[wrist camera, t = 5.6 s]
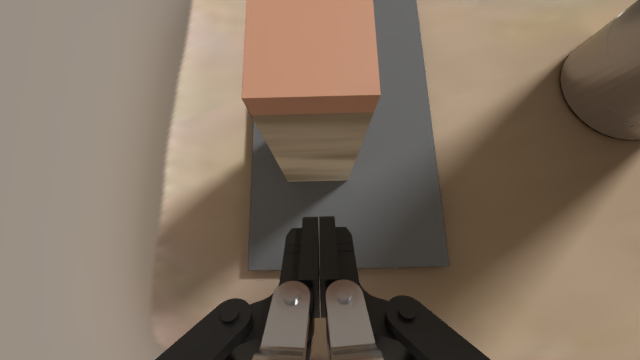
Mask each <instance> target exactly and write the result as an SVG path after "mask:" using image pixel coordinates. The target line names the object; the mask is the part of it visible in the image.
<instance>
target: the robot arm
mask: <svg viewBox="0 0 640 360" xmlns="http://www.w3.org/2000/svg"><path fill="white" fill-rule="evenodd" d="M561 87H562V91H563V94H564V96H565V99H566V101H567V103H568V104H569V106H570V107H571V109H572V110H573V111H574V113H575V114H576V115H577V116H578V117H579V118H580V119H581V120H582V121H583V122H585V123H586V124H587V125H589V126H590V127H591V128H593V129H595V130H597V131H599V132H600V133H602V134H605V135H608V136H611V137H614V138H619V139H625V140H640V0H638V1H636V2H635V3H634V4H632V5H631V6H630V7H629V8H627V9H626V10H625V11H623V12H622V13H621V14H620V15H618V16H617V17H616V18H614V19H613V20H612V21H611V22H609V23H608V24H607V25H605V26H604V27H603V28H602V29H600V30H599V31H598V32H597V33H595V34H594V35H593V36H592V37H591V38H589V39H588V40H587V41H586V42H584V43H583V44H582V45H580V46H579V47H578V48H577V49H575V50H574V51H573V52H571V54H570V55H569V56H568V57H567V59H566V60H565V62H564V65H563V67H562V71H561ZM319 242H320V298H321V318H322V317H326V335H327V348H328V358H329V360H490V359H489V358H488V357H487V356H485V355H484V354H483V353H482V352H480V351H479V350H478V349H477V348H475V347H474V346H473V345H472V344H470V343H469V342H468V341H467V340H465V339H464V338H463V337H462V336H460V335H459V334H458V333H457V332H456V331H454V330H453V329H452V328H451V327H449V326H448V325H447V324H446V323H444V322H443V321H442V320H441V319H439V318H438V317H437V316H436V315H434V314H433V313H432V312H431V311H429V310H428V309H427V308H426V307H425V306H423V305H422V304H421V303H420V302H418V301H417V300H415V299H413V298H411V297H408V296H396V297H394V298H392V299H391V300H390V301H386V300H383V299H379V298H376V297H373V296H371V295H370V294H368V293H367V292H366V291H364V289H363V288H362V287H361V285H360V283H359V278H358V272H357V265H356V259H355V253H354V246H353V239H352V234H351V233H350V231H349V230H348V229H347V227H335V216H319V229H318V217H303V219H302V228H291V230H290V231H289V233H288V234H287V235H286V240H285V247H284V254H283V261H282V268H281V276H280V282H279V286H278V287H277V289H276V290H275V292H274V293H273V294H272V295H271V296H270V297H268V298H266V299H264V300H262V301H259V302H256V303H253V304H250V305H249V304H248V303H247V302H246V301H244V300H242V299H230V300H227V301H224V302H223V303H221V304H220V305H219V306H217V307H216V308H215V309H214V310H213V311H211V312H210V313H209V314H208V315H207V316H206V317H204V318H203V319H202V320H201V321H200V322H199V323H197V324H196V325H195V326H194V327H193V328H192V329H190V330H189V331H188V332H187V333H186V334H185V335H183V336H182V337H181V338H180V339H179V340H178V341H176V342H175V343H174V344H173V345H172V346H171V347H169V348H168V349H167V350H166V351H165V352H164V353H162V354H161V355H160V356H159V357H158V358H157V359H155V360H311V358H312V346H313V335H314V318H320V300H319Z"/></svg>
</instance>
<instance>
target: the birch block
mask: <svg viewBox="0 0 640 360" xmlns="http://www.w3.org/2000/svg"><path fill="white" fill-rule="evenodd" d="M380 95H381V92H380V80H379V67H378V55H377V42H376V30H375V18H374V5H373V0H247V2H246V22H245V42H244V62H243V82H242V100H243V102H244V103H245V105H246V107H247V109H248V111H249V112H250V114H251V116H252V118H253V120H254V121H255V123H256V125H257V127H258V129H259V130H260V132H261V134H262V136H263V138H264V139H265V141H266V143H267V145H268V147H269V148H270V150H271V152H272V154H273V156H274V157H275V159H276V161H277V163H278V165H279V167H280V168H281V170H282V172H283V174H284V176H285V177H286V179H287V181H288V182H301V181H344V180H348V179H349V177H350V174H351V171H352V169H353V166H354V163H355V161H356V158H357V156H358V153H359V150H360V148H361V145H362V142H363V140H364V137H365V135H366V132H367V129H368V127H369V124H370V122H371V119H372V116H373V114H374V111H375V108H376V106H377V103H378V101H379V98H380Z"/></svg>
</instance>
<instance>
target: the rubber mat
mask: <svg viewBox="0 0 640 360" xmlns="http://www.w3.org/2000/svg"><path fill="white" fill-rule="evenodd" d="M373 5H374V18H375V30H376V42H377V55H378V67H379V80H380V92H381V95H380V98H379V101H378V103H377V106H376V108H375V111H374V114H373V116H372V119H371V122H370V124H369V127H368V129H367V132H366V135H365V137H364V140H363V142H362V145H361V148H360V150H359V153H358V156H357V158H356V161H355V163H354V166H353V169H352V171H351V174H350V177H349V179H348V180H344V181H301V182H288V181H287V179H286V177H285V176H284V174H283V172H282V170H281V168H280V167H279V165H278V163H277V161H276V159H275V157H274V156H273V154H272V152H271V150H270V148H269V147H268V145H267V143H266V141H265V139H264V138H263V136H262V134H261V132H260V130H259V129H258V127H257V125H256V123H255V121H254V126H253V152H252V178H251V205H250V231H249V257H248V271H252V270H281V268H282V261H283V254H284V247H285V240H286V235H287V234H288V233H289V231H290V230H291V228H302V219H303V217H318V229H319V216H335V227H347V229H348V230H349V231H350V233H351V234H352V239H353V246H354V253H355V259H356V265H357V268H393V267H441V266H449V259H448V251H447V243H446V235H445V227H444V219H443V211H442V203H441V195H440V187H439V179H438V171H437V163H436V155H435V147H434V139H433V131H432V123H431V115H430V107H429V99H428V91H427V83H426V75H425V67H424V59H423V51H422V43H421V35H420V27H419V19H418V11H417V3H416V0H373ZM319 269H320V242H319Z"/></svg>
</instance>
